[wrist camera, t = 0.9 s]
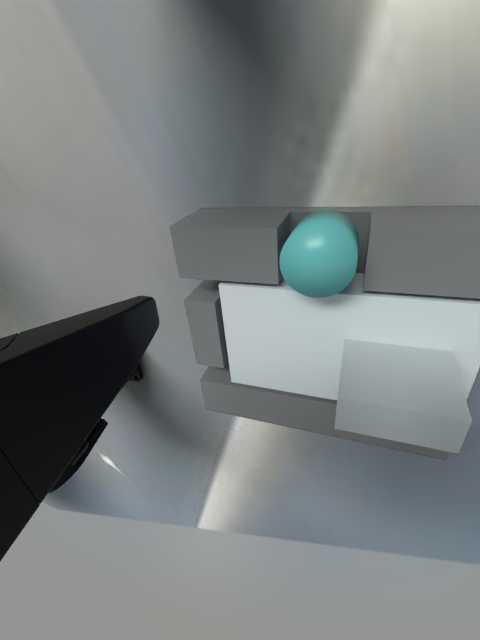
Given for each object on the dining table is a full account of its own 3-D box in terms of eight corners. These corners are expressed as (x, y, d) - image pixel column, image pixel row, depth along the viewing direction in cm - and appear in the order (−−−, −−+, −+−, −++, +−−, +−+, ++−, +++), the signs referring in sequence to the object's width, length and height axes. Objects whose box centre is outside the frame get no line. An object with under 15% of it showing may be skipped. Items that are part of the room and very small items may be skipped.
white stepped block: (243, 357, 25) (204, 434, 19) (234, 266, 21) (181, 327, 15) (449, 388, 20) (478, 499, 15) (486, 279, 16) (546, 373, 11)
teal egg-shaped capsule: (291, 271, 18) (280, 294, 16) (291, 209, 16) (278, 225, 14) (355, 275, 17) (352, 300, 15) (363, 209, 15) (360, 226, 13)
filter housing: (225, 375, 28) (206, 409, 25) (200, 208, 21) (169, 226, 18) (435, 411, 23) (445, 459, 20) (503, 205, 16) (536, 231, 12)
